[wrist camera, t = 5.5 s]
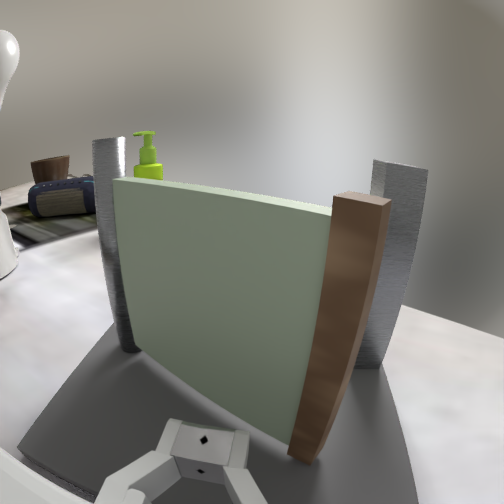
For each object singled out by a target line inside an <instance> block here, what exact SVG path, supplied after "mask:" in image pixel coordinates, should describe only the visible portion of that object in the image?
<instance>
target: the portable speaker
mask: <svg viewBox="0 0 504 504" xmlns="http://www.w3.org/2000/svg"><path fill="white" fill-rule="evenodd" d="M28 204H29V208H30V211H31V212H32V214H33V215H35V216H36V217H49V216H60V215H71V214H83V213H93V212H96V206H95V194H94V178H93V176H89V177H80V178H71V179H63V180H56V181H49V182H42V183H38V184H36V185H34V186H33V187H31V188H30V190H29V193H28Z"/></svg>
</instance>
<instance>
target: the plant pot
mask: <svg viewBox="0 0 504 504" xmlns="http://www.w3.org/2000/svg"><path fill="white" fill-rule="evenodd" d="M31 168H32V173H33V177H34V181H35V184H38V183H42V182H49V181H56V180H63V179H67V176H68V168H69V156H61V157H54V158H48V159H43V160H38V161H34V162H31Z"/></svg>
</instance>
